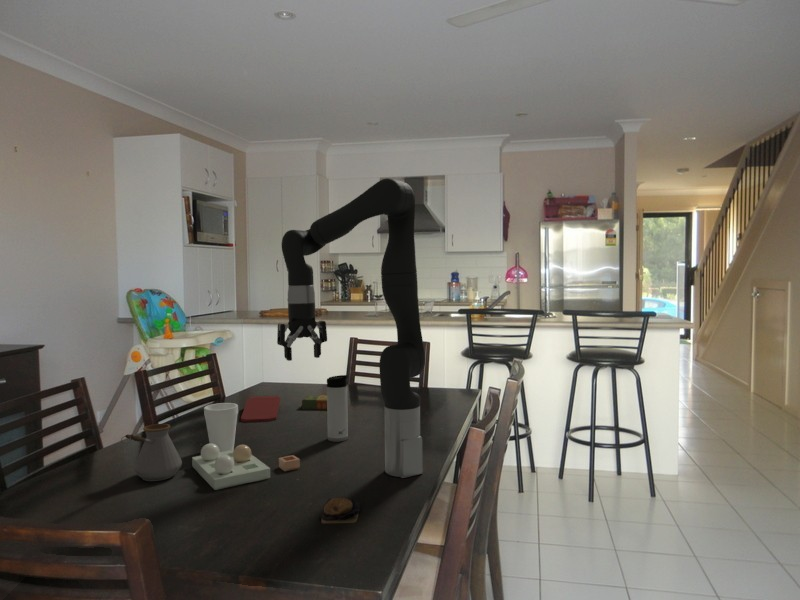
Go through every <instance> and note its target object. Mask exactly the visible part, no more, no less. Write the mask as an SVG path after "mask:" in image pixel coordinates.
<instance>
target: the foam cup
mask: <svg viewBox="0 0 800 600" xmlns="http://www.w3.org/2000/svg"><path fill="white" fill-rule="evenodd" d="M203 412H204V413H203V414H204V417H205V419H204V420H205V423H206V425H205V426H206V431H207V435H208V436H207V437H208V442H209V443H213V444H215V445H217V446H218V448H219V451H220V452H224V451H229V450H234V449H235V441H236V440H235V439H236V432H237V431H236V430H237V429H236V428H237V422H238V414H239V405H238V404H237V403H233V402H220V403H212V404H208V405H206V406H204V407H203Z"/></svg>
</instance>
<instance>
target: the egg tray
mask: <svg viewBox="0 0 800 600" xmlns="http://www.w3.org/2000/svg"><path fill="white" fill-rule="evenodd" d="M233 451H234V449H233V450H229V451H224V452H220V453H219V456H218V457H220V456H222V455H228V456H230V457H231V458H232V459H233V461H234V468H233V470H232V471H231V472H230V473H228V474H223V475H220V474H218V473H217V472H216V471H215V468H214V463H215V461H216V460H212V461H205V460H203V459H202V457H201V455H196V456H192V457H191V463H192V464H191V465H192V466H191V467H192V468H193V469H194V470H195V471H196V472H197V473H198V474H199V475H200V477H202V479H204V480H205V482H207V484H208V485H209V486H210V487H211V488H212V489H213V490H214V491H218V490H222V489H227V488H230V487H235V486H236V487H237V486H240V485H245V484H250V483H254V482H259V481H265V480H268V479H271V467H269V466H268V465H267V464H265V463H264V462H263V461H261V460H260V459H258V458H257V457H256V456H254V454H252V453H251V457H250V459H249V460H248V461H247V462H242V463H238V462H236V461H235V460H234V458H233Z"/></svg>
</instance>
